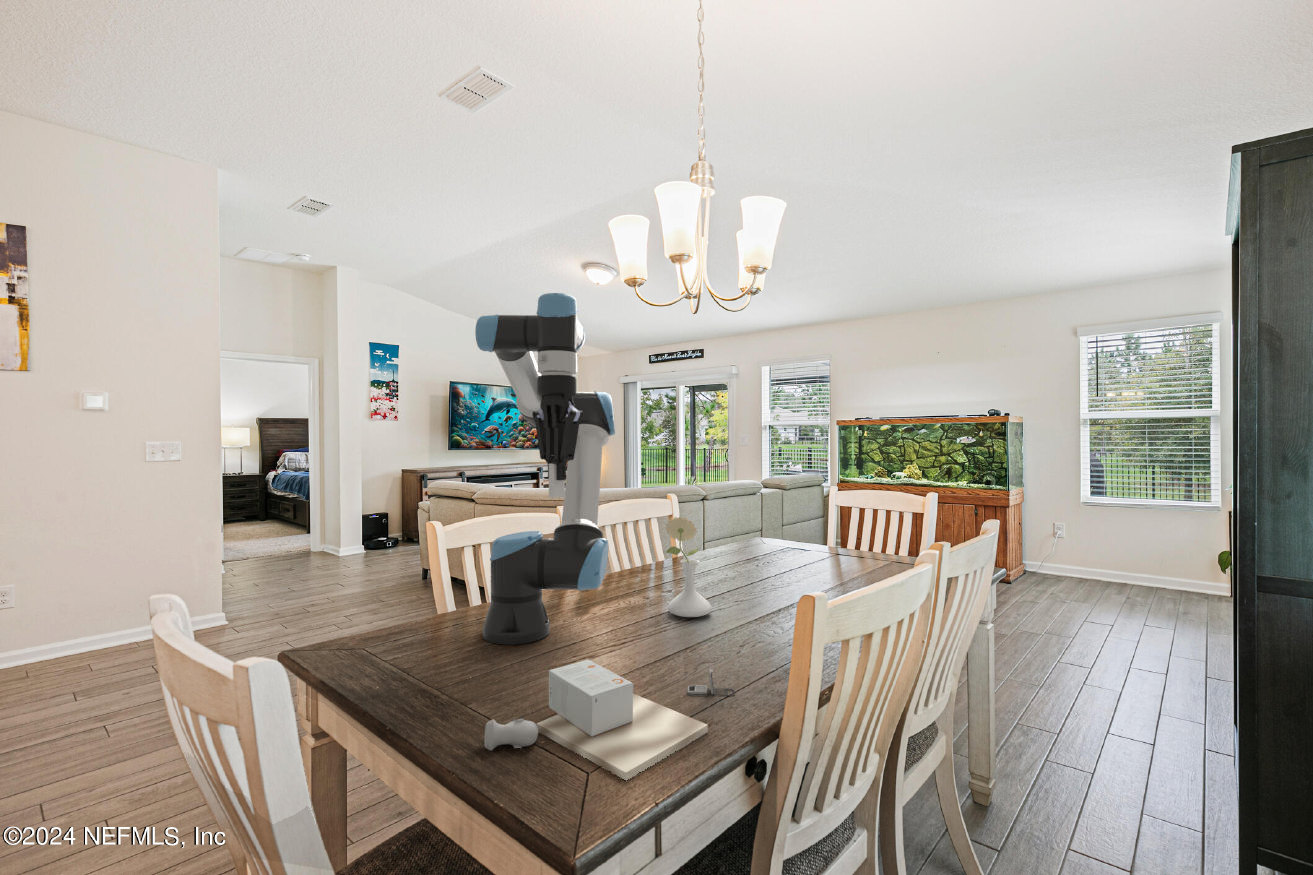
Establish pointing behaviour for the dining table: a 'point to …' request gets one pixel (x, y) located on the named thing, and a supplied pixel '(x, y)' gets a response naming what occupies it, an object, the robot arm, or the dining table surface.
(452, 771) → the dining table surface
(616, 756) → the birch board
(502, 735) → the smooth white sculpture
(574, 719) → the small box
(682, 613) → the flower in vase
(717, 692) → the strap clip
